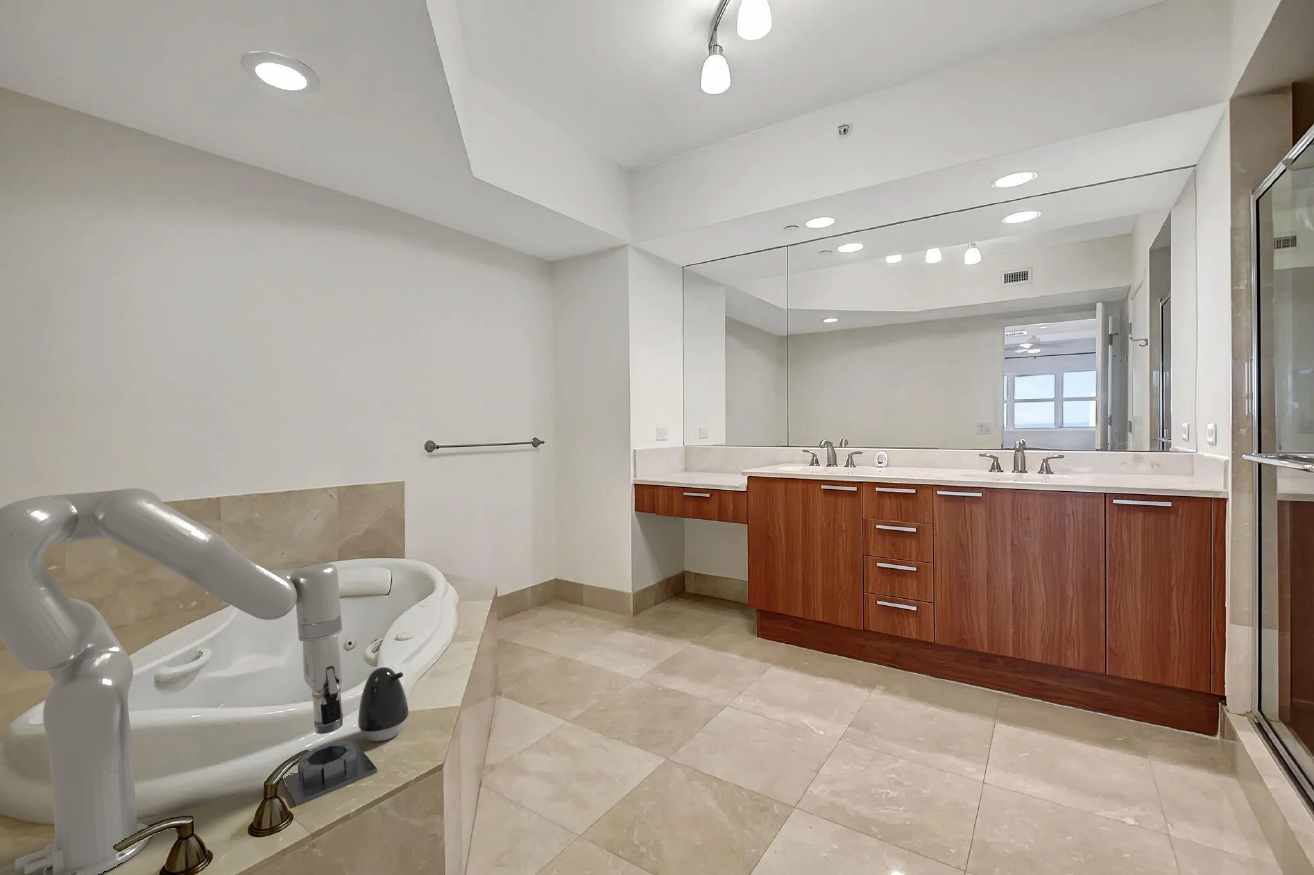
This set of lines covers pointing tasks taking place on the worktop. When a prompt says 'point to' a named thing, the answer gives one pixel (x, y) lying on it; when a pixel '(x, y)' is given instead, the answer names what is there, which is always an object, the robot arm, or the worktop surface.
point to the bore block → (328, 770)
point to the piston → (317, 713)
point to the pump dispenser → (382, 705)
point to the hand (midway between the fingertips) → (327, 715)
